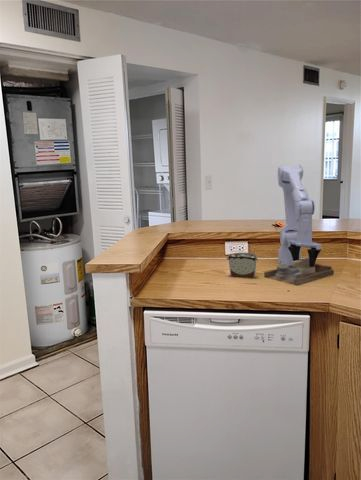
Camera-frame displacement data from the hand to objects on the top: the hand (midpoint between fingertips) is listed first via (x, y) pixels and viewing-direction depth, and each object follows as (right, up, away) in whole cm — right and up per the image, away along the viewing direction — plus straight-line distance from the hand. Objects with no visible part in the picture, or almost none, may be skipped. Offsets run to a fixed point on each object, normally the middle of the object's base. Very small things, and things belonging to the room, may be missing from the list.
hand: (304, 265), depth 163 cm
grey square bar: (-7, -5, -4) cm, 10 cm away
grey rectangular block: (0, -4, +1) cm, 4 cm away
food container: (-23, -6, +3) cm, 24 cm away
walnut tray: (-2, -5, -1) cm, 6 cm away
